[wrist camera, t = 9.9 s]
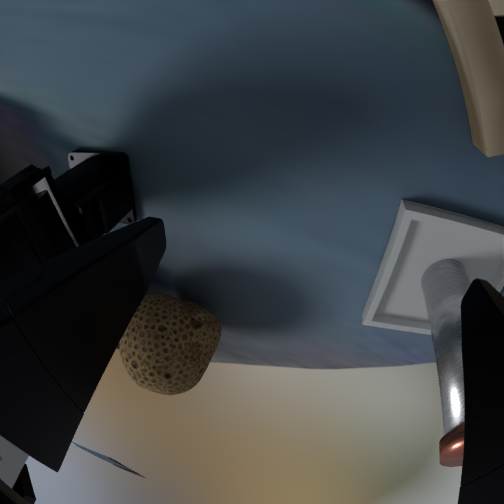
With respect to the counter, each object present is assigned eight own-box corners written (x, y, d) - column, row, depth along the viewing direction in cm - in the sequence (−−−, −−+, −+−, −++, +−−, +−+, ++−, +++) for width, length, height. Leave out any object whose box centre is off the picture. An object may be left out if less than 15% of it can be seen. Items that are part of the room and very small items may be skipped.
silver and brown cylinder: (406, 280, 22) (425, 460, 11) (451, 244, 20) (507, 426, 8) (435, 308, 23) (458, 469, 12) (477, 278, 20) (525, 441, 9)
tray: (362, 311, 26) (362, 324, 25) (401, 199, 19) (405, 209, 18) (465, 327, 24) (468, 339, 23) (519, 231, 18) (527, 242, 16)
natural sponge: (134, 294, 32) (86, 365, 25) (169, 250, 27) (111, 334, 20) (199, 342, 35) (166, 417, 27) (247, 310, 29) (214, 403, 22)
